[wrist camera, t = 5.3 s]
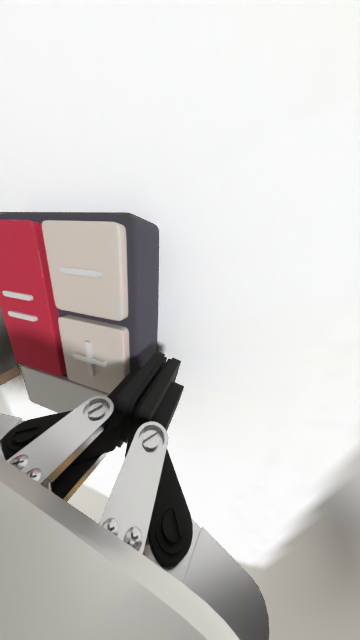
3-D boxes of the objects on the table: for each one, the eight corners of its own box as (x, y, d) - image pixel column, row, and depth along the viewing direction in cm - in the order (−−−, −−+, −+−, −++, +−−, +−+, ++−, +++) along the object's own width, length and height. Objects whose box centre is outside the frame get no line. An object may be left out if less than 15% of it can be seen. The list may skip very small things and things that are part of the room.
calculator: (125, 206, 7) (132, 455, 12) (165, 226, 11) (158, 408, 16) (-39, 207, 10) (21, 407, 15) (39, 223, 14) (66, 377, 19)
